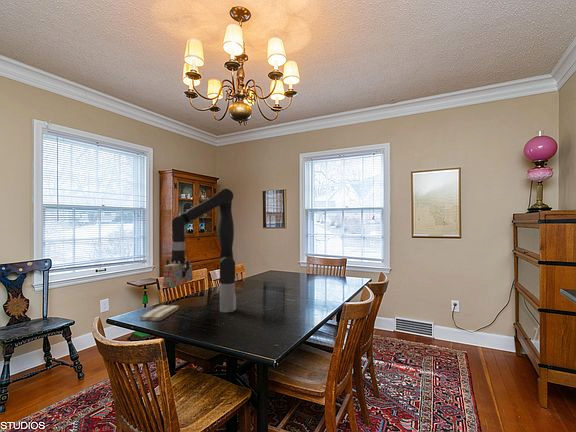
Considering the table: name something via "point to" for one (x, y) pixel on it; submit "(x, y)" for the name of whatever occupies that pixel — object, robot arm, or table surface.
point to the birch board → (159, 313)
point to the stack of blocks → (175, 275)
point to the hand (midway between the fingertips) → (178, 277)
